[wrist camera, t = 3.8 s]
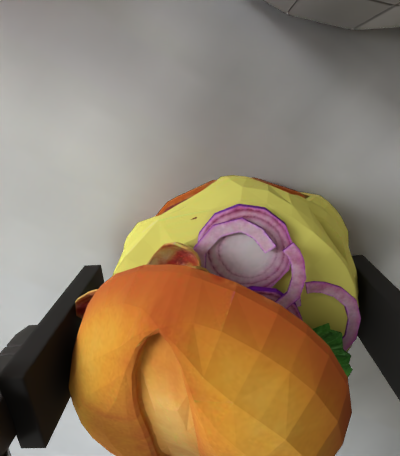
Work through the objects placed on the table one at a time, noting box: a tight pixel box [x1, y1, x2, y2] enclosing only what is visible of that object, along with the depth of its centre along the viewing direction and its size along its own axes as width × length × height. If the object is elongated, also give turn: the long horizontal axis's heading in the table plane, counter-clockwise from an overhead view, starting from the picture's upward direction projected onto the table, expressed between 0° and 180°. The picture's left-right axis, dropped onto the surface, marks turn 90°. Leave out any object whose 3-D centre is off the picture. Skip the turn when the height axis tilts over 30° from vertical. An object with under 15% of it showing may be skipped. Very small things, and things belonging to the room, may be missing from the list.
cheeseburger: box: [69, 175, 361, 456], centre depth 12 cm, size 10×11×10 cm
